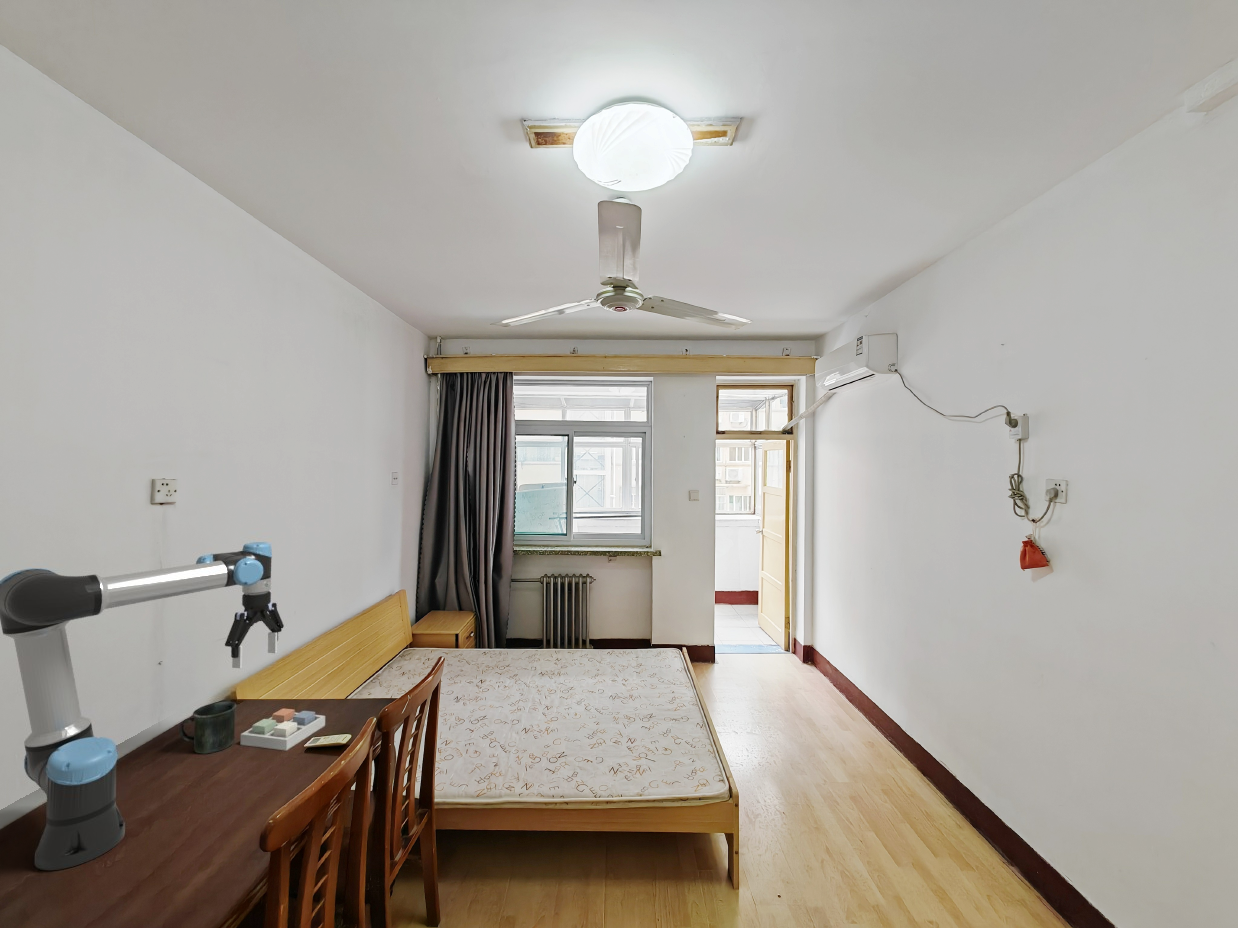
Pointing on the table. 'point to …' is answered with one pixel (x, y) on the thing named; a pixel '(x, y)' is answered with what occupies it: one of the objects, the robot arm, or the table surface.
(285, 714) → the key terracotta
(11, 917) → the table surface
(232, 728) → the mug
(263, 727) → the key sage
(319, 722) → the frame
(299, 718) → the key slate
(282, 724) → the key ivory
